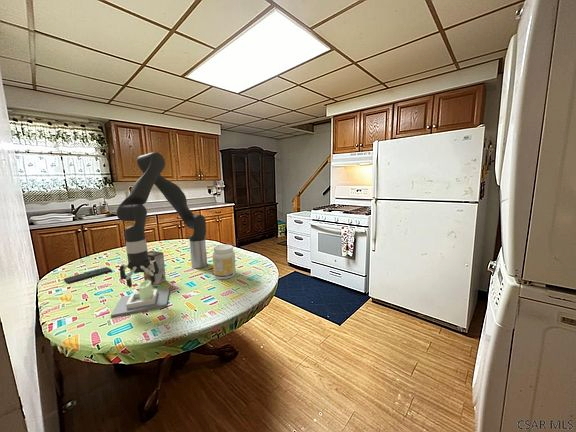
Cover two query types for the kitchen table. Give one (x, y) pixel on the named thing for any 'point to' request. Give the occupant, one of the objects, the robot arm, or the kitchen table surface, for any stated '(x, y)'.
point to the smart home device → (87, 275)
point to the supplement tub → (224, 262)
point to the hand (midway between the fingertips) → (141, 284)
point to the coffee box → (160, 260)
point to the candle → (145, 290)
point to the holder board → (140, 303)
